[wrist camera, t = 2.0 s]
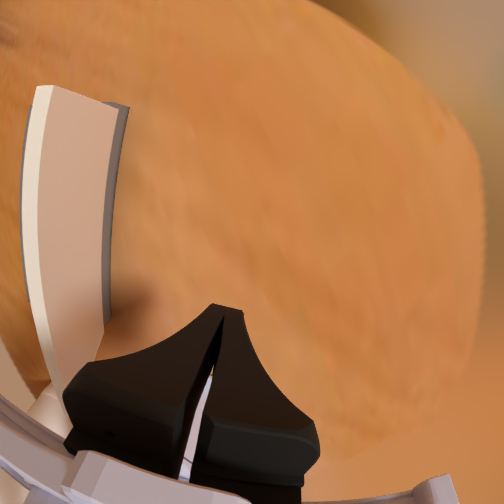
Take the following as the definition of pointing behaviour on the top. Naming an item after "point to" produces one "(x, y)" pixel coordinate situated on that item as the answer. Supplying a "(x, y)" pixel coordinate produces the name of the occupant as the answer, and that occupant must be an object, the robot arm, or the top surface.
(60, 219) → the panel
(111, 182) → the cable duct
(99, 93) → the top surface
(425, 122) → the top surface
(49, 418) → the bottle
